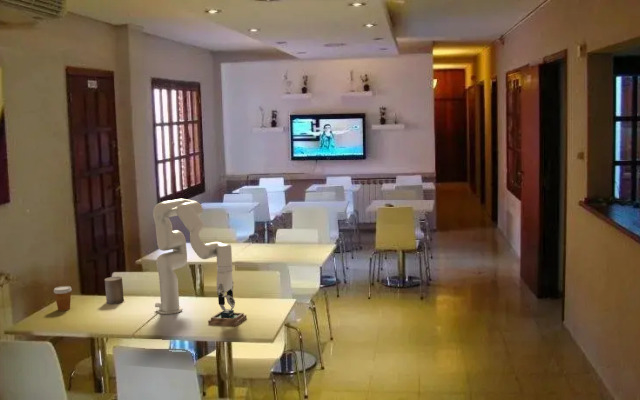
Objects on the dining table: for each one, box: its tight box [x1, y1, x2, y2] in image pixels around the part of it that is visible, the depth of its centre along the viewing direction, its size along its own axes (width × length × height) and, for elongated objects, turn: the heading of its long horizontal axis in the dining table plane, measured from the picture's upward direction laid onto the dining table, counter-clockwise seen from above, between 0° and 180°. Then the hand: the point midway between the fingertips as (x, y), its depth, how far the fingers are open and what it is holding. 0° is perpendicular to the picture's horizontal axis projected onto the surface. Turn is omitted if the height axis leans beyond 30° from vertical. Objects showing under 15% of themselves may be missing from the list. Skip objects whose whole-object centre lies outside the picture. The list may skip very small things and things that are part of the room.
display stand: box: [207, 311, 247, 327], centre depth 371 cm, size 15×13×3 cm
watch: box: [219, 294, 236, 318], centre depth 370 cm, size 6×8×11 cm
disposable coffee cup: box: [53, 285, 72, 312], centre depth 406 cm, size 10×10×12 cm
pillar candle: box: [104, 276, 125, 305], centre depth 418 cm, size 10×10×15 cm
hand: (225, 301), depth 370 cm, fingers open, 9 cm apart
